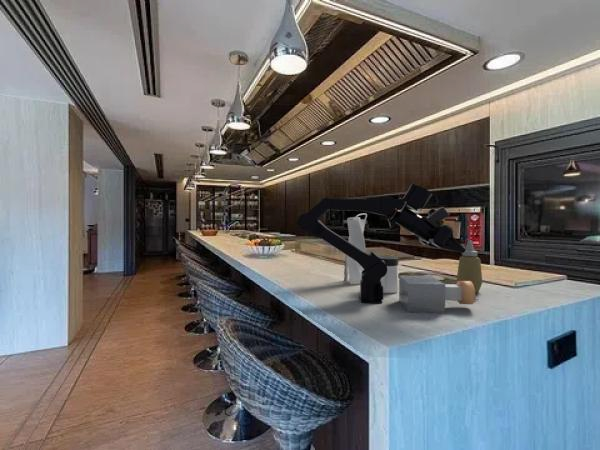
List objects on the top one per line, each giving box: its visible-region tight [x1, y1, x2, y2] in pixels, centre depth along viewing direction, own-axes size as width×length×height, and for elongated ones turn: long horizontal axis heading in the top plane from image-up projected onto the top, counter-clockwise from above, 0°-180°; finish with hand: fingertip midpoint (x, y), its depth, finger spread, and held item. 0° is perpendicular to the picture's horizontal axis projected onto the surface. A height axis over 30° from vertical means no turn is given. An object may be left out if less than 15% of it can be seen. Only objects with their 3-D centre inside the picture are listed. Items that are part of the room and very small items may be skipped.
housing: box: [398, 274, 446, 314], centre depth 95 cm, size 10×12×8 cm
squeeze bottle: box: [456, 240, 483, 294], centre depth 113 cm, size 8×8×18 cm
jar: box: [380, 255, 399, 294], centre depth 114 cm, size 9×8×12 cm
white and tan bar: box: [444, 281, 476, 305], centre depth 94 cm, size 14×7×7 cm, turn 84°
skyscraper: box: [343, 212, 368, 286], centre depth 127 cm, size 8×8×28 cm
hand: (459, 250), depth 96 cm, fingers open, 9 cm apart
